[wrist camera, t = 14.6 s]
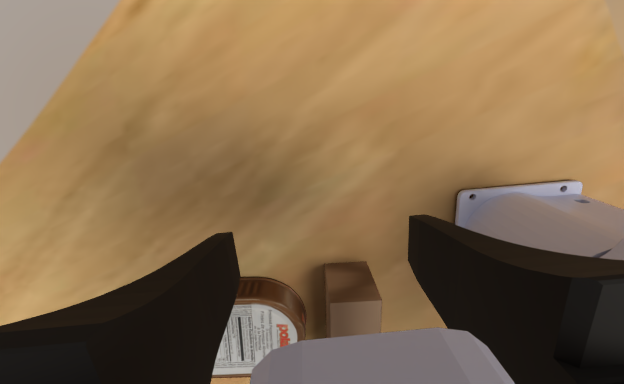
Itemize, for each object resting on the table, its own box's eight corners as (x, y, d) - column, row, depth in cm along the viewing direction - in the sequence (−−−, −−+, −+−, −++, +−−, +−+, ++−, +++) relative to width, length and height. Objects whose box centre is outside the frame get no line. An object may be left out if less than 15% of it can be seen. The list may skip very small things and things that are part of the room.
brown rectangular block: (365, 260, 24) (381, 300, 20) (362, 368, 28) (375, 423, 23) (324, 262, 24) (330, 303, 19) (326, 370, 28) (332, 426, 23)
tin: (121, 277, 24) (143, 351, 27) (96, 307, 21) (124, 385, 24) (306, 275, 24) (305, 347, 27) (307, 302, 21) (306, 379, 25)
